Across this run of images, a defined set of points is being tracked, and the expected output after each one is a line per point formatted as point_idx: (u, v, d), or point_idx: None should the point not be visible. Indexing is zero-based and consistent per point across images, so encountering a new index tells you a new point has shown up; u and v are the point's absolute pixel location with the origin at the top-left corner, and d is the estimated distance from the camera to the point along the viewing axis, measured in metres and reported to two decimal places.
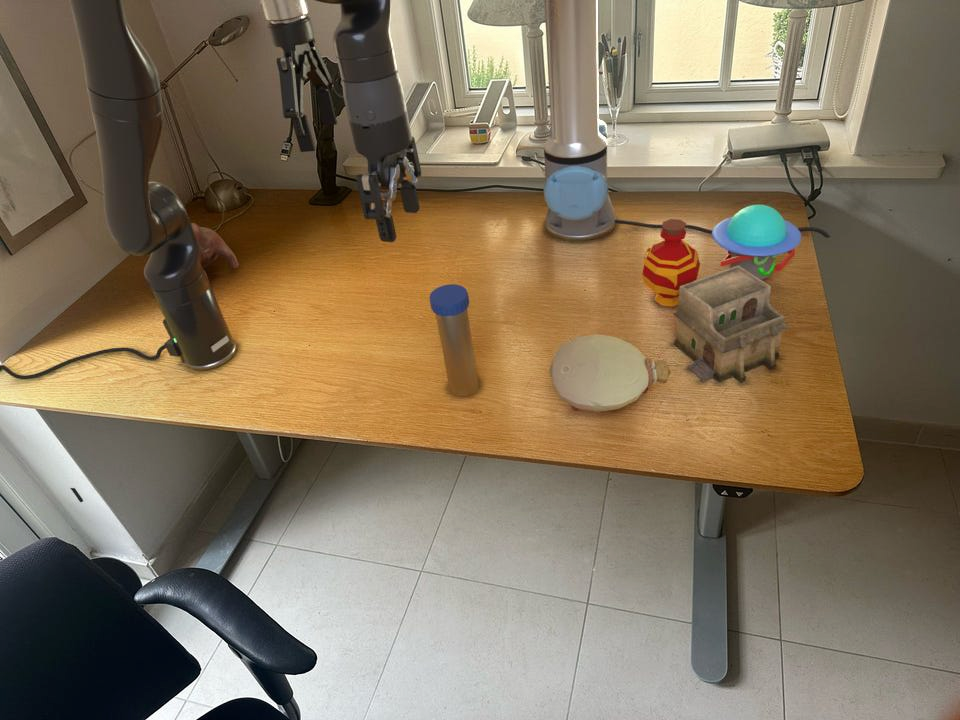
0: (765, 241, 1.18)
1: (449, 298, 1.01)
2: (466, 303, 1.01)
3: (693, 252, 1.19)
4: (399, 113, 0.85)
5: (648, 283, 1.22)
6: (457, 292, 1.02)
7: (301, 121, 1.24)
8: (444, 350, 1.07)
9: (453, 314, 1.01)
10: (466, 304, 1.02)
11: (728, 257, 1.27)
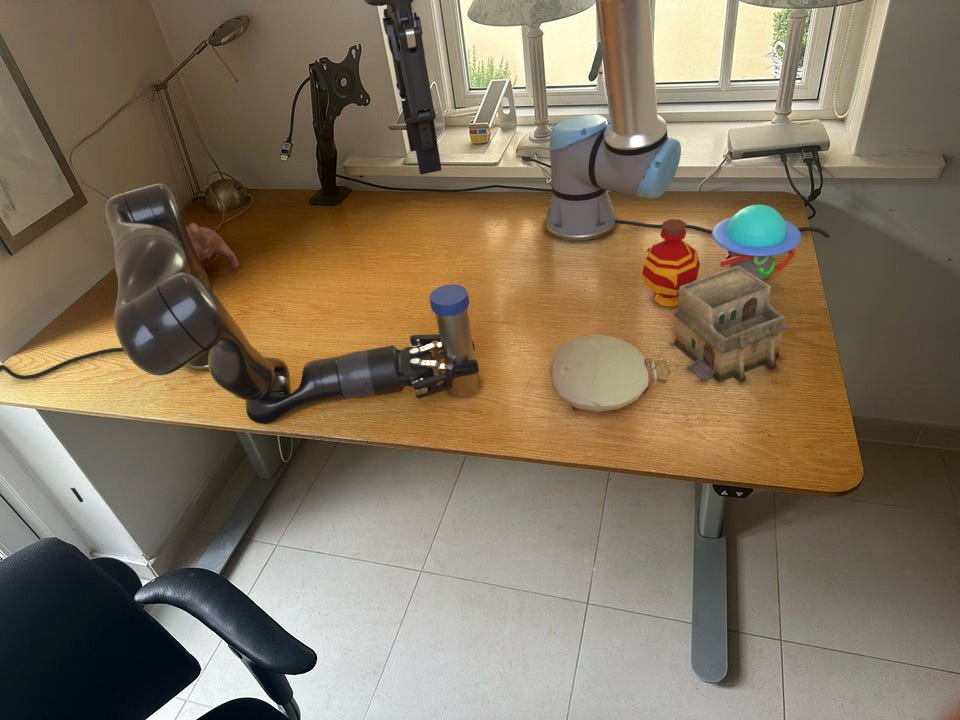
0: (765, 241, 1.18)
1: (449, 298, 1.01)
2: (466, 303, 1.01)
3: (693, 252, 1.19)
4: None
5: (648, 283, 1.22)
6: (457, 292, 1.02)
7: None
8: (444, 350, 1.07)
9: (453, 314, 1.01)
10: (466, 304, 1.02)
11: (728, 257, 1.27)
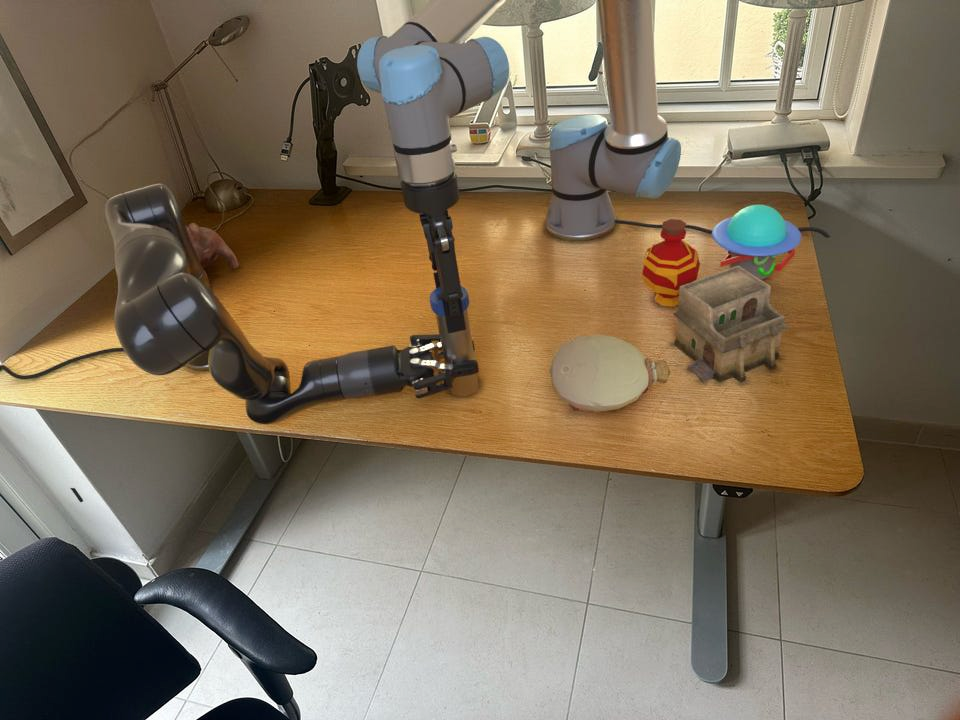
0: (765, 241, 1.18)
1: None
2: (466, 303, 1.01)
3: (693, 252, 1.19)
4: None
5: (648, 283, 1.22)
6: None
7: None
8: (444, 350, 1.07)
9: None
10: (466, 304, 1.02)
11: (728, 257, 1.27)
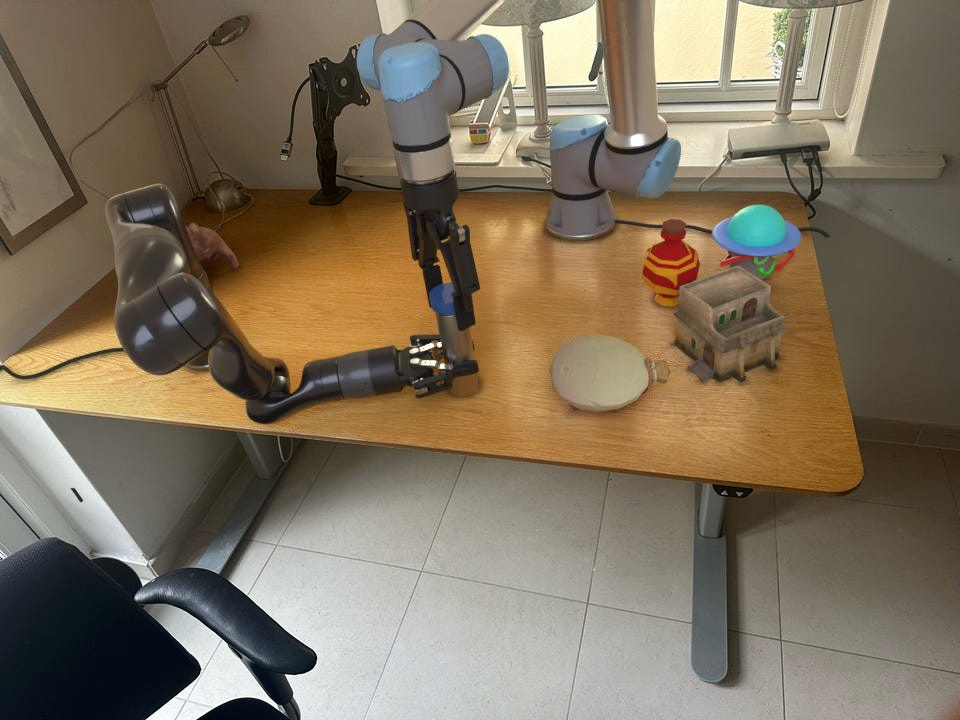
0: (765, 241, 1.18)
1: None
2: None
3: (693, 252, 1.19)
4: None
5: (648, 283, 1.22)
6: (443, 289, 1.03)
7: None
8: (444, 350, 1.07)
9: None
10: None
11: (728, 257, 1.27)
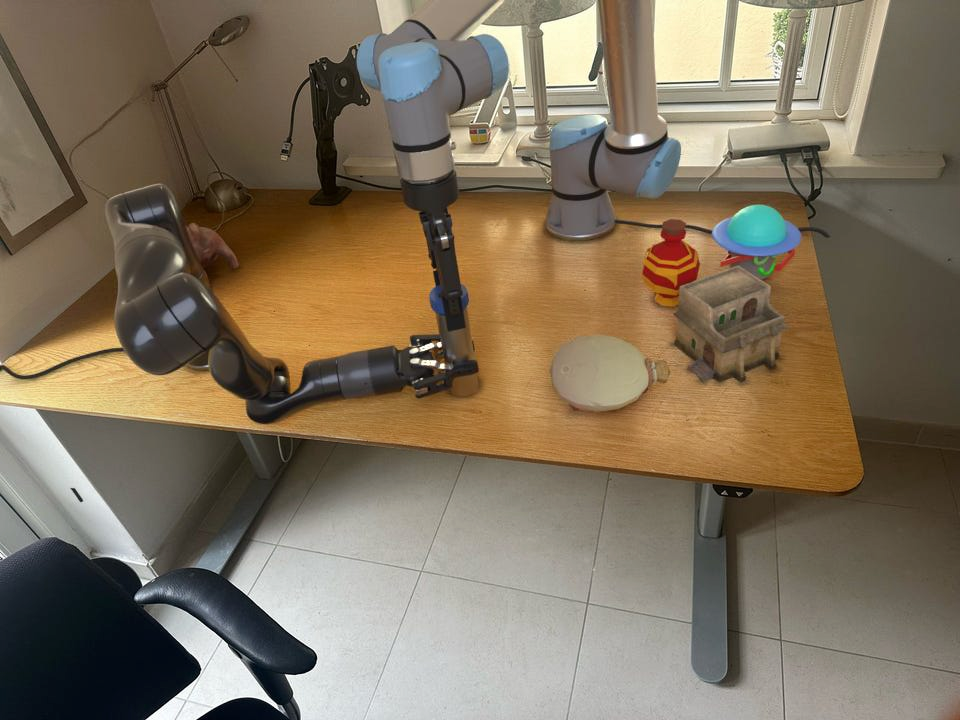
0: (765, 241, 1.18)
1: None
2: None
3: (693, 252, 1.19)
4: None
5: (648, 283, 1.22)
6: None
7: None
8: (444, 350, 1.07)
9: None
10: None
11: (728, 257, 1.27)
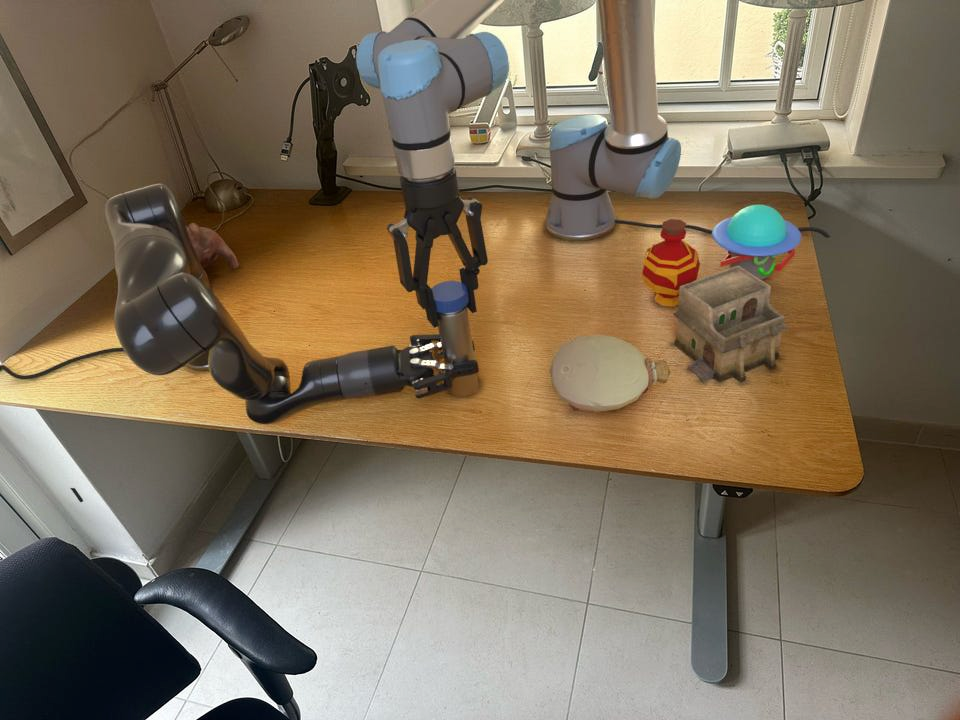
0: (765, 241, 1.18)
1: (442, 288, 1.02)
2: None
3: (693, 252, 1.19)
4: None
5: (648, 283, 1.22)
6: (441, 295, 1.01)
7: (422, 294, 0.99)
8: (444, 350, 1.07)
9: None
10: None
11: (728, 257, 1.27)
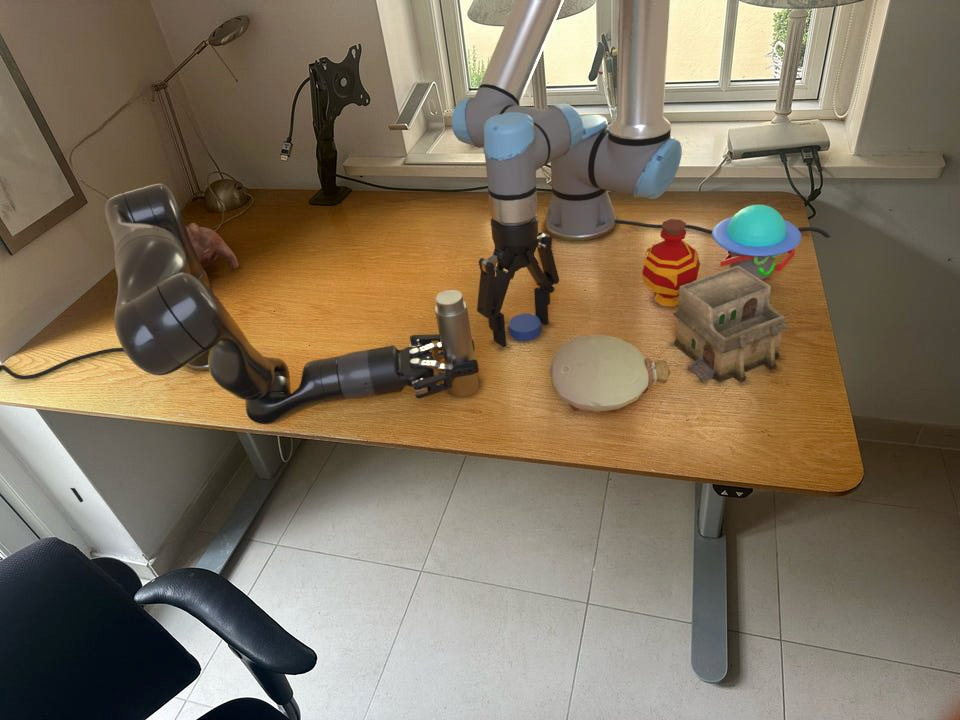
0: (765, 241, 1.18)
1: (519, 321, 1.22)
2: (510, 332, 1.22)
3: (693, 252, 1.19)
4: None
5: (648, 283, 1.22)
6: (520, 326, 1.21)
7: (495, 319, 1.16)
8: (444, 350, 1.07)
9: None
10: (510, 333, 1.22)
11: (728, 257, 1.27)
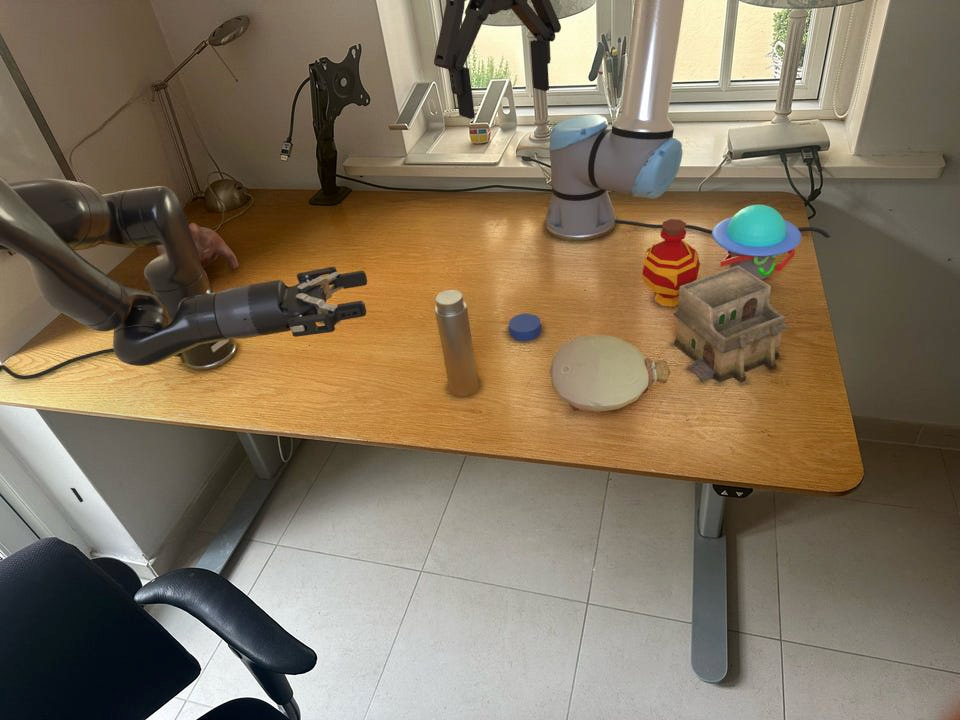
0: (765, 241, 1.18)
1: (519, 321, 1.22)
2: (510, 332, 1.22)
3: (693, 252, 1.19)
4: None
5: (648, 283, 1.22)
6: (520, 326, 1.21)
7: (458, 75, 0.91)
8: (444, 350, 1.07)
9: None
10: (510, 333, 1.22)
11: (728, 257, 1.27)
